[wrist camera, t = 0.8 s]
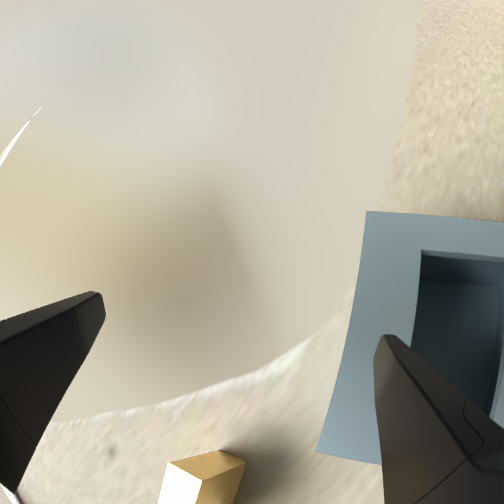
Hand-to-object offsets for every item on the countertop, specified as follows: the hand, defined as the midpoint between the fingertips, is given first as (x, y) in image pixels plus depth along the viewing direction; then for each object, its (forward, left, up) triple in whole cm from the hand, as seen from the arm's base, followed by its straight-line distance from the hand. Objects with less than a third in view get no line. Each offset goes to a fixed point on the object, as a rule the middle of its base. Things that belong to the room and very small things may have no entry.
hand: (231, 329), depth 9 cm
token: (-12, +4, -13) cm, 18 cm away
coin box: (+1, -8, -13) cm, 15 cm away
